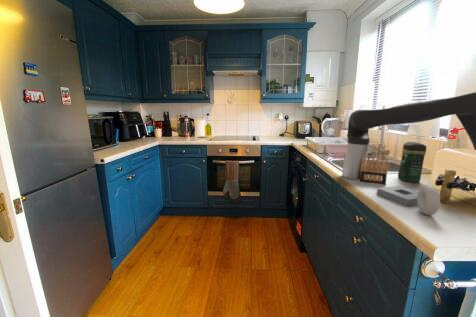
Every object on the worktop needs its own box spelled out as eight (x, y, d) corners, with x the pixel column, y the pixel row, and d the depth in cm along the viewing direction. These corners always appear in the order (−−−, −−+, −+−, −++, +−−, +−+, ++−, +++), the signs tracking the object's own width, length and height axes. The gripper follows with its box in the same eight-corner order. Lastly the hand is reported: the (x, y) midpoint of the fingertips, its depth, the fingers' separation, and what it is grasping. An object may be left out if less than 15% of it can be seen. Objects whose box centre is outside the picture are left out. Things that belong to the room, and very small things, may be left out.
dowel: (436, 200, 85) (443, 169, 83) (441, 199, 86) (448, 169, 84) (445, 203, 83) (452, 172, 80) (451, 202, 84) (458, 171, 81)
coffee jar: (422, 183, 104) (430, 144, 100) (402, 182, 107) (410, 143, 103) (413, 177, 114) (420, 141, 109) (395, 176, 116) (401, 140, 112)
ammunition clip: (359, 181, 107) (362, 156, 104) (359, 180, 109) (362, 156, 106) (385, 184, 102) (389, 159, 100) (385, 183, 104) (389, 158, 101)
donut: (412, 206, 80) (418, 179, 77) (424, 208, 78) (430, 181, 76) (425, 219, 70) (431, 189, 68) (438, 221, 69) (445, 190, 67)
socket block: (376, 194, 91) (377, 188, 90) (398, 191, 95) (399, 185, 94) (406, 206, 80) (407, 199, 79) (429, 202, 84) (431, 195, 83)
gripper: (452, 166, 93) (423, 169, 88) (499, 176, 80) (469, 180, 75) (448, 183, 95) (420, 187, 89) (494, 195, 82) (463, 201, 76)
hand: (442, 184), depth 82 cm, fingers closed on dowel, 3 cm apart
